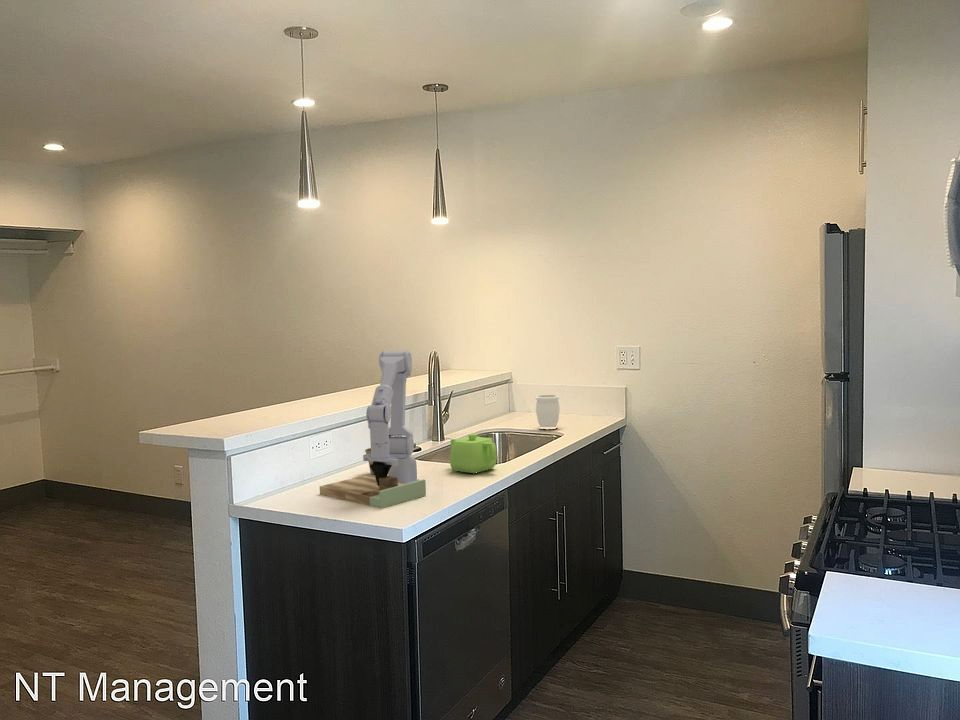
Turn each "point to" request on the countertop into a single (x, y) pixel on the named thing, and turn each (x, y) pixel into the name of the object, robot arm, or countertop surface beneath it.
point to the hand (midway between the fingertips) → (381, 486)
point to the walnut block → (387, 482)
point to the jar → (547, 410)
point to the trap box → (373, 491)
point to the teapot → (472, 454)
